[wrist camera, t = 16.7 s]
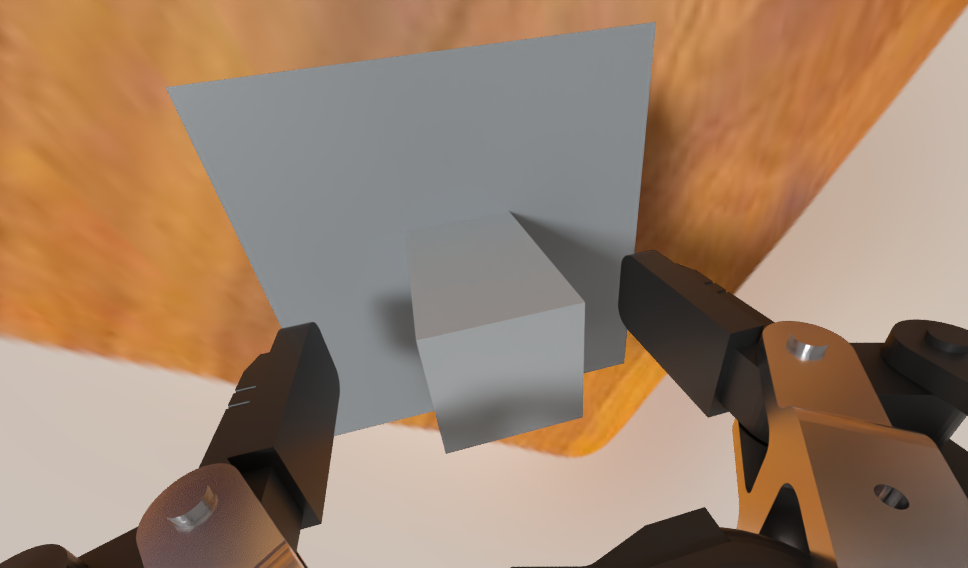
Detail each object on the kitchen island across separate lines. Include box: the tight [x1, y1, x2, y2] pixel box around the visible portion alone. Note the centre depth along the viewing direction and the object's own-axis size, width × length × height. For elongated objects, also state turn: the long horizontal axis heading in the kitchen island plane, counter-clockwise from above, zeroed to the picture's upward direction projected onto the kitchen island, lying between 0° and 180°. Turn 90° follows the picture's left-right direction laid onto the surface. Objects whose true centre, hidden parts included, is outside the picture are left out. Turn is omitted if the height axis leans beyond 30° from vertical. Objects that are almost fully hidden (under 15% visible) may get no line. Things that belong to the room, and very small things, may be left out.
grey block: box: [166, 22, 656, 454], centre depth 13 cm, size 11×11×14 cm
